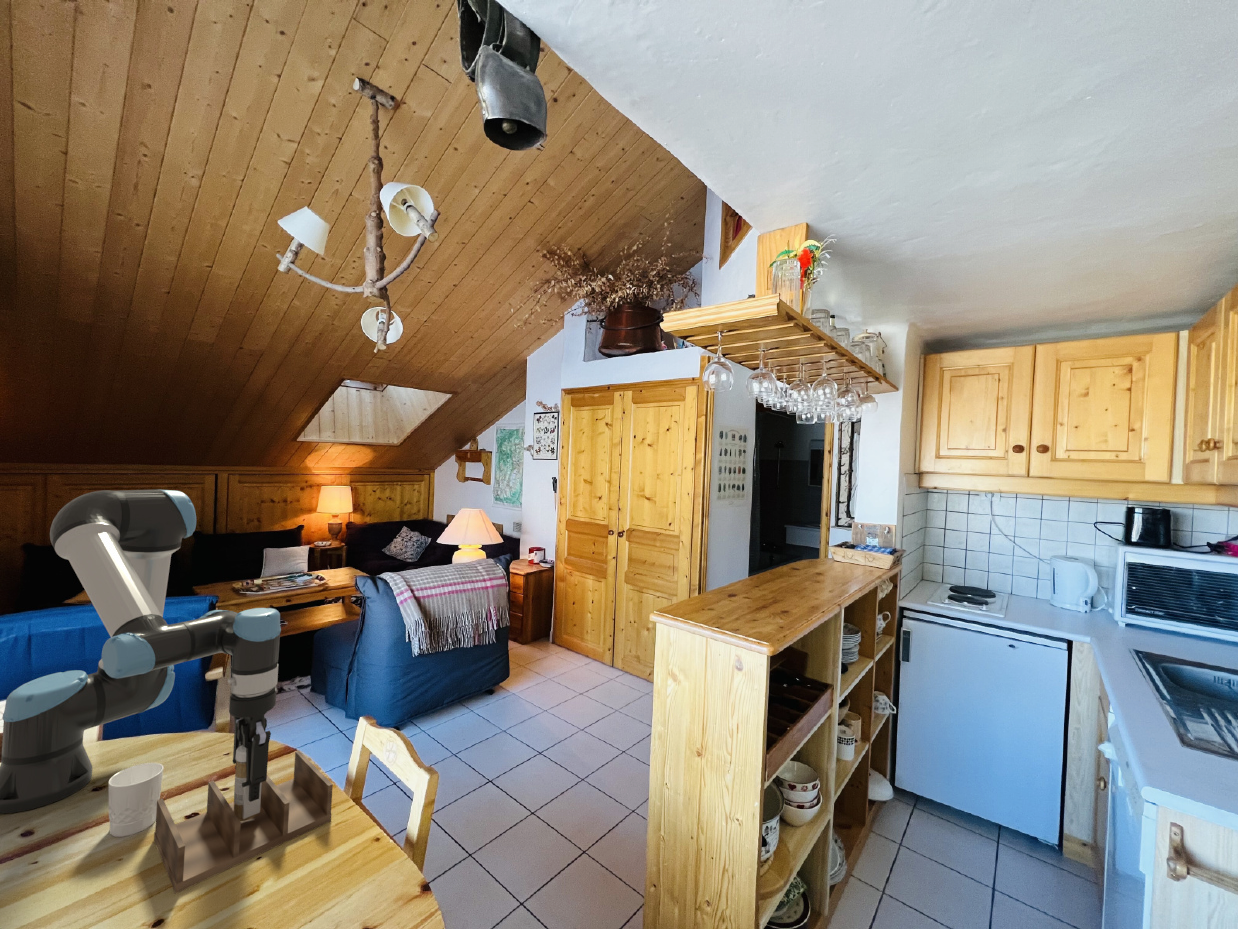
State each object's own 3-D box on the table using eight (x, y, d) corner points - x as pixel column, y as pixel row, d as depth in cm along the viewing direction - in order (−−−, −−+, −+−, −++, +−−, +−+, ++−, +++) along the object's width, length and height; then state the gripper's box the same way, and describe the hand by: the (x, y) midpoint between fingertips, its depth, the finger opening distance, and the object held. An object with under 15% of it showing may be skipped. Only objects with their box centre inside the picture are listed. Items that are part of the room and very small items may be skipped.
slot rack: (154, 840, 97) (156, 800, 97) (297, 783, 116) (299, 750, 116) (175, 893, 86) (178, 848, 86) (331, 821, 105) (333, 784, 105)
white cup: (126, 843, 96) (129, 789, 96) (94, 835, 98) (97, 782, 98) (170, 816, 104) (173, 766, 104) (140, 808, 105) (143, 760, 106)
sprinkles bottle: (264, 814, 101) (268, 745, 102) (236, 826, 98) (241, 755, 98) (255, 804, 104) (259, 737, 104) (228, 815, 100) (232, 746, 101)
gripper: (218, 682, 104) (211, 798, 104) (244, 711, 93) (237, 841, 92) (261, 672, 110) (255, 781, 109) (291, 698, 99) (284, 820, 98)
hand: (246, 808), depth 101 cm, fingers closed on sprinkles bottle, 4 cm apart
